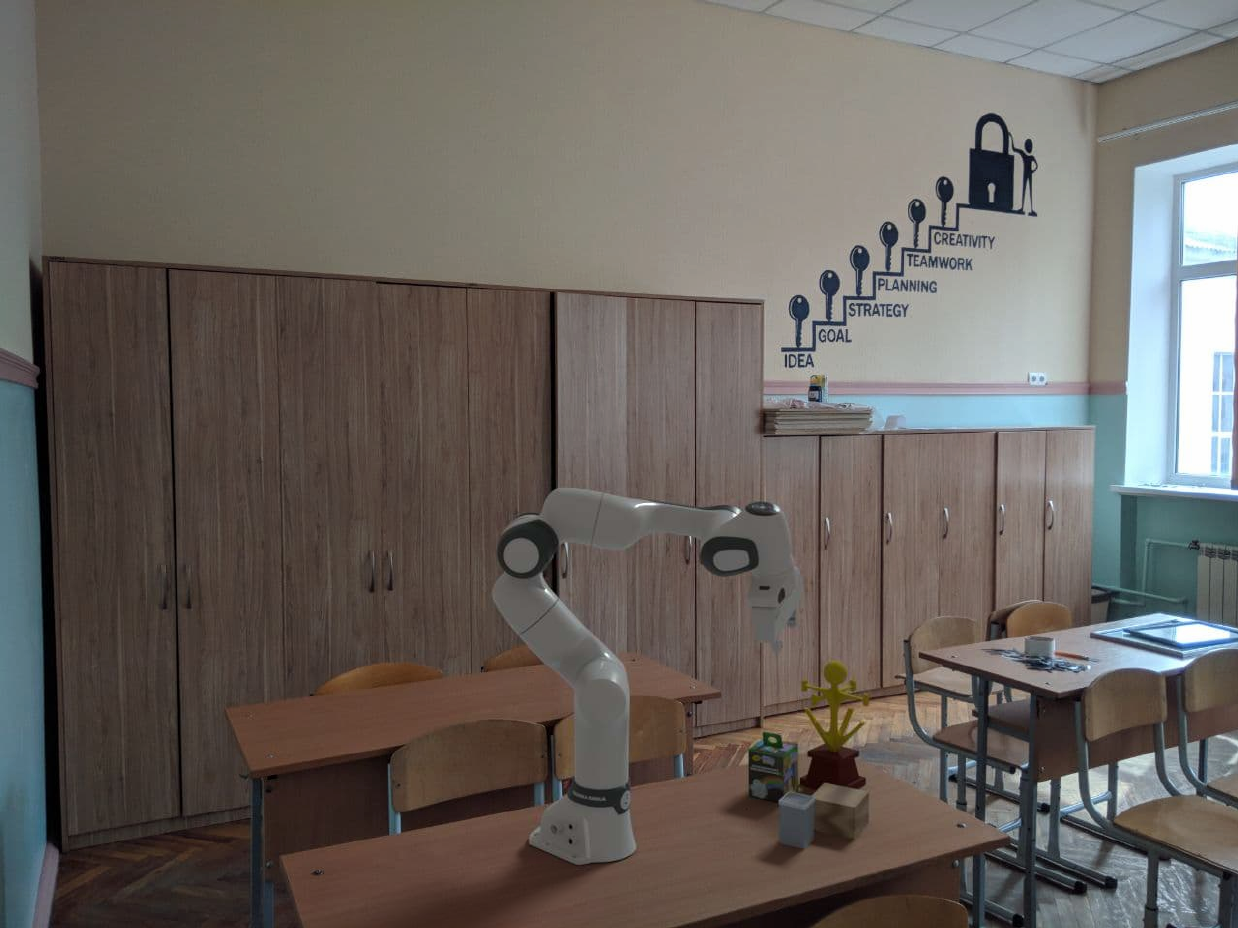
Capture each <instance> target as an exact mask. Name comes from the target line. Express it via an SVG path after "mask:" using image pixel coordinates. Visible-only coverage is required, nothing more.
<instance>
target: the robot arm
mask: <svg viewBox="0 0 1238 928" xmlns="http://www.w3.org/2000/svg"><path fill="white" fill-rule="evenodd" d="M790 532H791V531H790V527H789V523H788V520H787V517H786V515H785V512H784V511H783V509H782V508H781V507H780V506H778V504H775V503H772V502H770V501H769V502H768V501H754V502H751V503H748V504H746V505H745V507H744V508H743V509H742V510H741V509H740V508H738V507H737V506H734V505H729V504H719V505H713V506H712V505H710V506H694V505H687V504H680V503H674V502H668V501H661V500H656V499H655V500H652V499H642V498H632V497H625V496H620V495H617V494H611V493H607V492H603V491H597V490H592V489H586V488H585V489H584V488H578V487H557V488H555V489H553V490H552V491H551V492H550V493H549V494H548V495H547V497H546V498H545V500H544V502H543V506H542V510H541V512H540V513H537V512H525V513H522V514H520V515H518V516H517V517H516V518H514V519H513V520H512V521H511V522H510V523H508V525H507V526H506V527H505V528H504V530H503V532H502V534H501V536H500V538H499V540H498V541H497V545H496V559H497V561H498V565H499V566H500V568H502V570H503V571H504V572H503V573H502V574H501V575H500V576H499V577H498V579H497V580H496V581H495V583H494V585H493V588H492V590H491V597H492V600H493V603H494V605H495V606H496V608H497V609H498V611H499V613H501V616H502V617H503V618H504V620H505V621H506V622H507V624H508V625H509V626H510V627H511V629H512V630H513V631H514V632H515V633H516V634H517V636H518V637H519V638H520V640H522V641H523V642H524V643H525V644H526V646H527V647H528V648H529V649H530V650H531V651H532V652H533V653H534V654H535V656H537V658H539V660H540V661H541V662H542V663H543V664H544V665H546V666H547V667H549V668H550V669H551V670H553V671H554V672H555V673H556V674H557V675H559V676H560V677H561V678H562V679H564V680H565V681H566V682H567V684H569V686H570V687H571V688H572V690H573V691H574V692H573V712H574V713H573V717H574V718H573V719H574V721H573V722H574V723H573V724H574V725H573V726H574V728H573V729H574V734H573V735H574V736H573V737H574V775H573V776H571V777H570V778H569V779H568V780H566V781H565V782H563V785H564V786H563V789H566V788H568V790H567V793H566V794H564V795H563V796H562V797H560V798H559V799H557V800H556V801H554V802H553V803H552V804H550V805H549V806H548V807H547V808H546V809H545V810H544V811H543V814H542V816H541V819H540V825H539V826H538V827H537V828H536V829H534V830H533V831H532V832H531V834H530V835H529V839H528V844H529V845H531V846H532V847H535V848H537V849H540V850H541V851H544V852H547V853H549V854H552V855H553V856H555V857H558V858H559V859H562V860H564V861H567V862H569V863H571V864H573V865H577V866H583V865H587V864H588V865H589V864H591V863H609V862H614V861H619V860H623V859H625V858H627V857H629V856H631V855H632V854H633V853H634V852H636V849H637V843H636V841H635V837H634V836H635V835H634V833H633V827H632V821H631V812H630V807H631V798H632V797H631V795H632V793H631V791H632V790H631V786H632V785H631V778H630V777H629V739H630V738H629V735H630V708H631V707H630V706H631V705H630V703H631V701H630V700H631V698H630V697H631V694H630V686H629V680H628V674H627V669H626V667H625V664H624V663H623V662H622V660H620V658H618V656H617V655H615V654H614V652H612V650H610V648H608V647H607V646H606V645H605V644H604V643H603V642H602V641H601V640H600V639H599V638H598V637H597V636H595V635H594V634H593V633H592V632H591V631H590V630H589V629H588V628H587V627H586V626H585V625H583V623H582V622H581V621H580V620H579V619H578V618H577V617H576V615H575V614H574V613H573V612H572V611H571V610H570V609H569V607H567V605H566V604H565V603H564V601H562V600H561V599H560V598H559V596H557V594H556V593H555V592H554V591H553V590H552V589H551V588H550V586H549V585H548V584H547V582H546V580H545V578H544V576H543V575H544V574H543V572H544V571H545V570H546V568H547V567H548V566H549V564H550V563H551V561H552V560H553V558H554V555H555V553H556V552H557V550H558V548H559V546H560V545H563V544H565V543H573V544H580V545H584V546H588V547H591V548H596V549H600V550H601V549H602V550H608V551H624V550H626V549H628V548H630V547H633V546H634V544H636V543H637V542H638V541H639V540H640V539H642V538H643V537H646V536H648V535H650V534H653V533H667V534H673V535H680V536H684V537H685V536H686V537H691V538H695V539H698V540H699V541H701V542H700V554H699V555H700V557H699V558H700V561H701V563H702V566H703V567H704V569H706V571H708V572H709V573H710V574H712V575H714V576H716V577H721V578H726V577H728V578H729V577H733V576H736V575H740V574H744V573H747V572H751V577H750V585H749V588H748V592H747V594H746V597H745V598H746V599H745V600H746V604H747V606H748V607H751V608H750V618H751V622H752V623H751V624H752V628H753V632H754V636H755V639H756V640H757V641H758V642H759V643H767V644H770V646H771V650H772V652H773V653H780V652H782V649H783V648H784V647H783V646H784V645H783V641H781V640H780V639H779V638H780V634H781V633H782V632H783V630H784V628H785V626H787V628H793V629H794V628H796V626H797V624H798V619H797V615H798V605H799V604H800V601H802V598H803V597H804V589H805V588H804V583H803V579H802V575H801V572H800V569H799V567H797V566H796V560H795V558H794V556H793V554H792V537H791V533H790Z"/></svg>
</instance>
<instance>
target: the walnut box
mask: <svg viewBox="0 0 1238 928" xmlns="http://www.w3.org/2000/svg"><path fill="white" fill-rule="evenodd" d="M811 796H813V797H815V802H814V832H815V831H816V832H820V833H825V834H829V835H834V836H838V837H842V838H847V839H851V840H856V839H857V838H858V836H859V835H860V834H861V832H863V830H864V829H865V827H866V826H867V825H868V824H869V822H870V821H869V819H870V814H869V811H870V807H869V806H870V791H867V790H863V789H859V788H858V789H854V788H849V787H844V786H839V785H834V784H829V783H824V784H823V785H822V786H821V787H820V788H819V789H818V790H816V791H815V792H814V793H813V794H812V795H811Z"/></svg>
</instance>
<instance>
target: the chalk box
mask: <svg viewBox="0 0 1238 928" xmlns="http://www.w3.org/2000/svg"><path fill="white" fill-rule="evenodd" d="M771 738H773V739H771ZM782 738H783V737H782V735H781V734H779V733H773V732H767V731H763V732H762V738H761V740H759V741H757V742H755V743H754V745H752V746H751V747H749V748H748V749H747V755H748V757H747V758H748V759H747V760H748V761H747V762H748V764H747V766H748V769H747V770H748V774H747V775H748V797H753V798H758V799H763V800H766V801H770V802H774V803H778V804H779V800H780V799H781V798H782V797H783V796H785V795H786V794H787V793H788V792H789V791H790V792H795V793H798V791H799V747H798V746H799V744H798V743H795V742H792V741H783V739H782Z"/></svg>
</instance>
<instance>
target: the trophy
mask: <svg viewBox="0 0 1238 928" xmlns="http://www.w3.org/2000/svg"><path fill="white" fill-rule="evenodd" d="M823 677H824V679H825V681H826V682H827V683H829V684H830V687H828V688H825V687H820V686H814V685H810V684H808V680H807V679H802V680H801V692H804V693H805V692H807V691H808V689H811V690H813V691H816V692H819V693H821V695H818V694H817V693H813V694H811V695H810V705H811V706H812V707H818V706H819V701H822V700H826V701H827V702H828V705H829V706H828V707H829V713H830V715H829V716H830V717H829V718H830V719H829V721H830V722H829V730H828V731H827V730H825V729H824V728H823V727H822V725H821V724H820V723H819V721H818V720H817V718H816V717H815V715H814V714H813V712H812V710H811V709H810V707H803V710H804V712H805V714H806V715H807V717H808V718H809V721H811V724H812V725H813V726H814V728H815V730H816V731H817V734H819V736H820V738H821V739H822V741H823V744H821V745H819V746H816V747H813V748H812V749H810V750H807V751H806V753H807V755H806V756H807V757H808V758H811V760H810V764H809V767H808V770H807V774H806V775H803V776H800V777H799V786H802V787H807V788H810V789H813V790H816V791H817V790H818V789H819V788H820V787H821V786H822V785H823V784H824V783H829V784H834V785H839V786H844V787H849V788H854V789H858V790H859V789H860V788H862V787H864V786H866V785H867V777H865V776H862V775H859V770H858V767H857V763H856V758H858V757H860V751H859V750H856V749H852V748H848V747H846V746H844V745H846V743H847V742H848V741H849V740H850V739H851V738H852V737H853V736H854V735H855V734H856V733H857V732H858V731H859V730H860V729H861V728H862V727H863V726H864V725H865V724H866V723H867V722H866V721H861V722H859V723H858V724H857V725H856V726H855V727H854V728H852V730H851V731H849V732H848V733H846V731H847V728H848V725H849V723H850V720H851V717H852V716H853V713H854V711H855V708H854V707H848V708H847V710H846V713H845V716H844V718H843V720H842V722H841V724H840V727H839V726H838V725H839V724H838V723H839V721H838V719H839V715H838V714H839V710H840V707H841V705H842V703H843V702H844V701H845V700H851V699H852V700H857V701H861V702H862V706H864V707H869V705H870V694H869V693H863V695H862V696H857V695H853V694H850V693H848V692H846V691H848V690H849V691H850V692H856V691H857V680H856V679H851V680H849V684H848V685H846V686H843V687H840V688H839V685H842V684H844V682H845V681H846V680H847V678H848V669H847V667H846V665H845V664H844V663H843V662H841V661H839V660H831V661H829V662H827V664H826V665H825V666H824V669H823ZM838 727H839V728H838Z"/></svg>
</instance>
